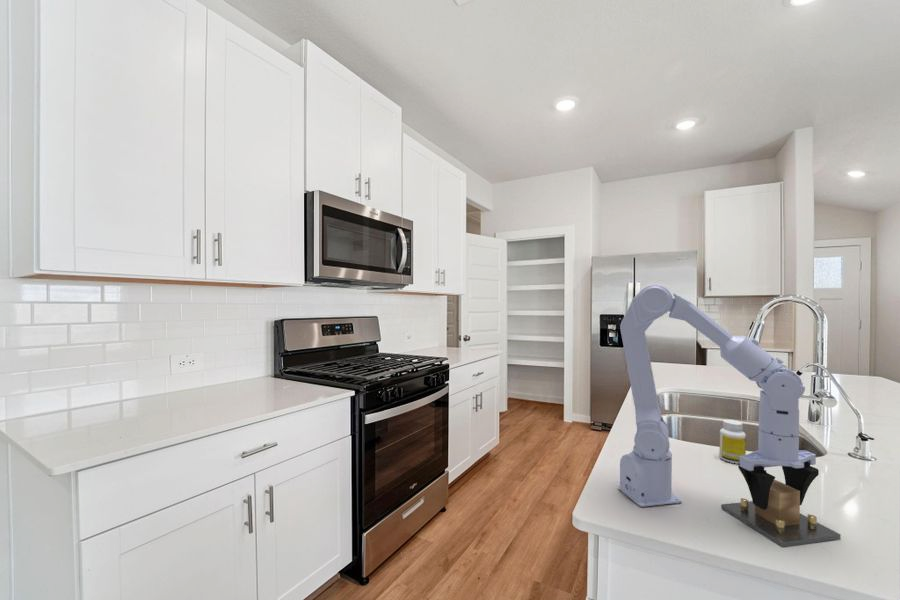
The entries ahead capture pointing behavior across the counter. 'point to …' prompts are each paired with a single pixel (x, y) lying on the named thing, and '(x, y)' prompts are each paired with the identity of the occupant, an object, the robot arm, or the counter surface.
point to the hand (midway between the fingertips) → (777, 504)
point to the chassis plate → (781, 526)
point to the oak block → (782, 504)
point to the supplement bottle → (732, 441)
